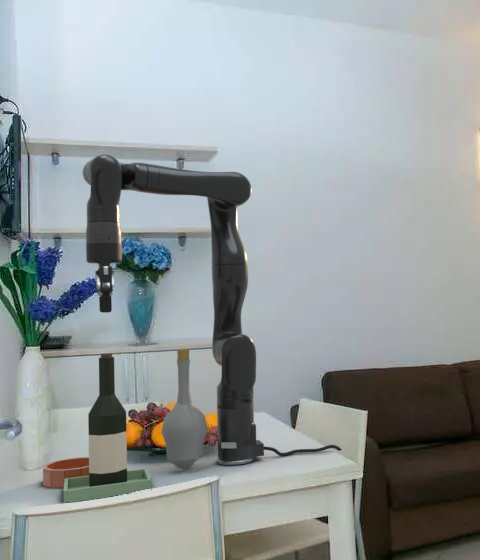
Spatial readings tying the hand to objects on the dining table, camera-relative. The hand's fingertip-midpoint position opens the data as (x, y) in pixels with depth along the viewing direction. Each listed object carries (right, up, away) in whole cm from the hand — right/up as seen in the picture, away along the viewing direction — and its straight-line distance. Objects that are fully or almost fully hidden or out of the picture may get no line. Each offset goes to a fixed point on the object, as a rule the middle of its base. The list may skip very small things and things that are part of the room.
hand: (105, 312), depth 157 cm
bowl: (-10, -40, +5) cm, 42 cm away
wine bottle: (+3, -39, -5) cm, 40 cm away
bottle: (+15, -40, +12) cm, 44 cm away
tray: (+3, -40, -5) cm, 40 cm away
